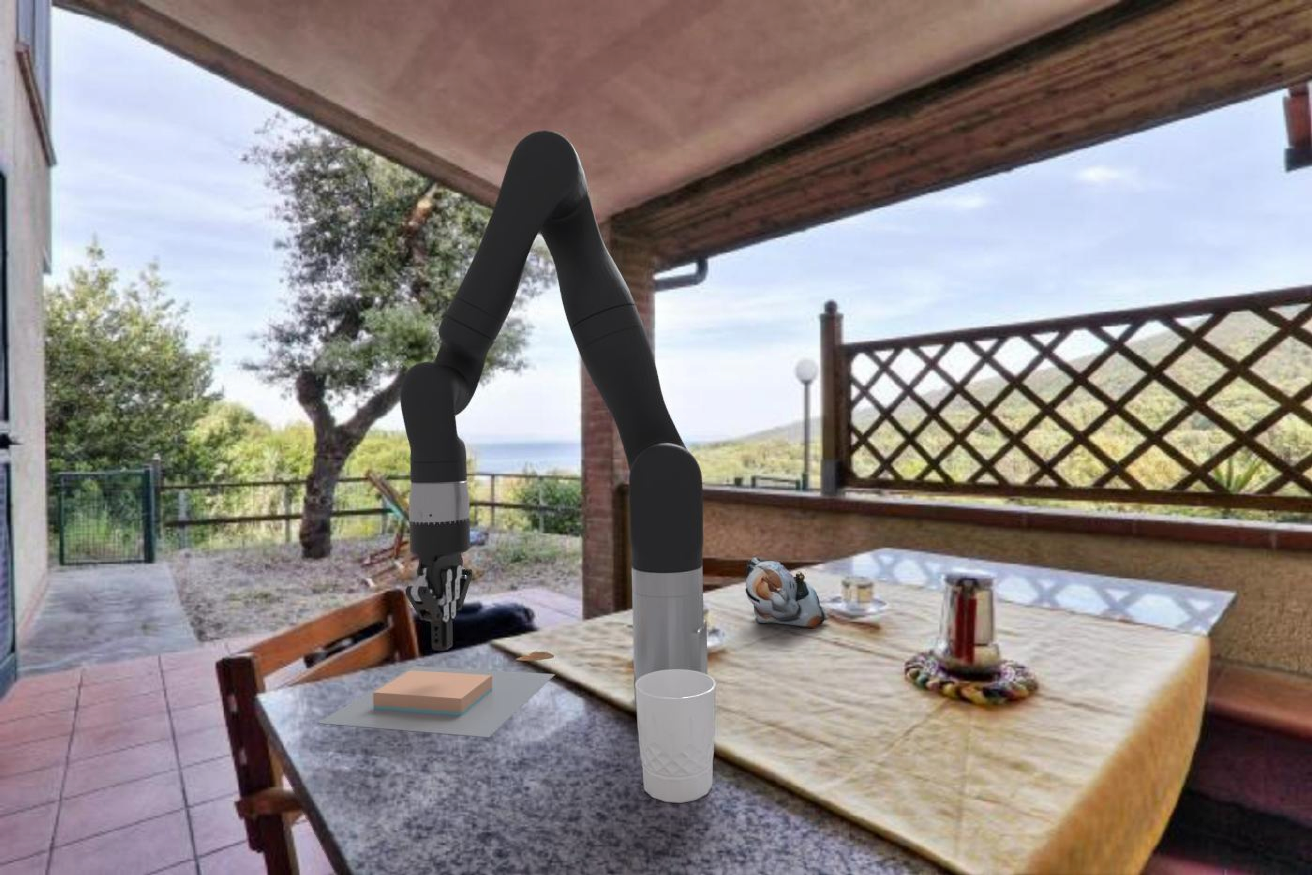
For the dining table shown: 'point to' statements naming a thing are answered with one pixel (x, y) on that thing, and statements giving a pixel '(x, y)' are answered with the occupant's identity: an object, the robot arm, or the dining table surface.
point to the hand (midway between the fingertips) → (442, 648)
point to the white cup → (676, 733)
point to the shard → (536, 656)
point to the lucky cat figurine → (782, 595)
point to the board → (477, 721)
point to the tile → (433, 692)
